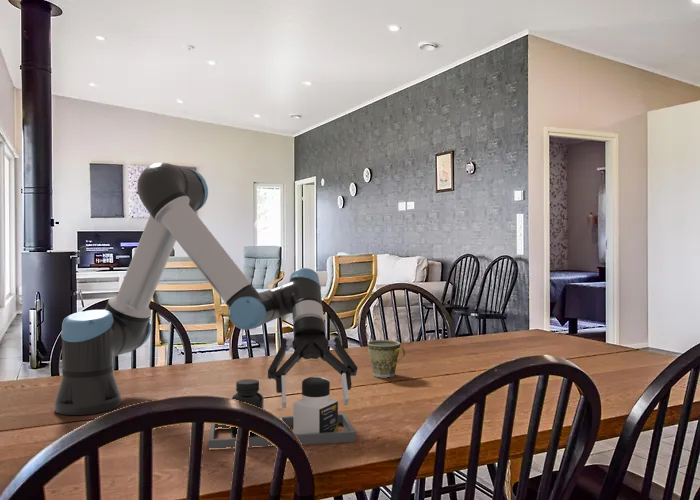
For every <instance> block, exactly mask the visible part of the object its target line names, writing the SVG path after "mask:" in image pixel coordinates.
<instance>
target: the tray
mask: <svg viewBox="0 0 700 500" xmlns="http://www.w3.org/2000/svg"><path fill="white" fill-rule="evenodd" d="M346 414H347V413H345V412H344V413H338V424H342V425H343V428H344V430H345V431H337V432H327V433H309V434H295V435H296V436H297V437H298V439H299V440H300V442H301V443H302V445H301V446H304V445H320V444H321V445H322V444H337V443H339V444H340V443H354V442H355V443H356V439H357V438H356V433H357V431H355V428H354V427H353V425H352V423H351V421H350V420H349V418H348V417H347V415H346ZM277 417H278V418H280V419H281V420H282V421H284V422H285V423H286V424H287V425H288V426H287V427H293V415H288V416H277ZM218 427H222V428H229V427H230V426H226V425H218V424H211V423H210V428H209V435H208V440H207V441H208V444H207V445H208V446H207V447H208V448H226V447H231V448H233V447H235V441H236V438H232V437H227V438H226V437H225V438H215V436H214V433H215V434H216V430H215V428H218ZM268 445H270V446H271V445H272V444H271V443H270V442H268V441H267V440H266V439H264V438H262V437H260V436H258V437H249V447H252V446H268ZM272 446H273V445H272ZM249 447H248V448H247V449H250V448H249ZM274 447H276V446H274ZM208 448H207V449H208Z"/></svg>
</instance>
